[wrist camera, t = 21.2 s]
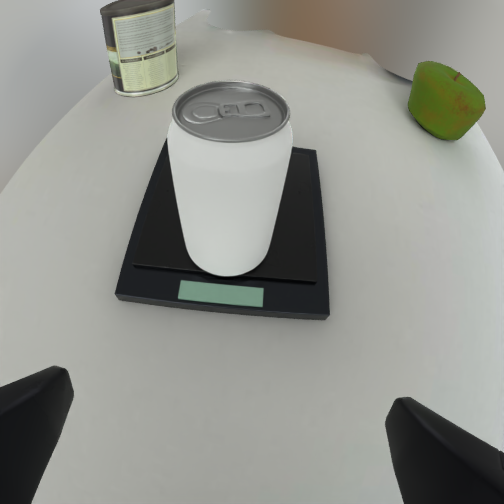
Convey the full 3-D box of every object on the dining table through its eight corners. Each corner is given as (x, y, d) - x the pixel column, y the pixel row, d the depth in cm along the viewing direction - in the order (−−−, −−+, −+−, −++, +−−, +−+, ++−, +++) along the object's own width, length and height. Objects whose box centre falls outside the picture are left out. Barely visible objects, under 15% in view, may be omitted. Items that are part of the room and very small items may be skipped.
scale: (325, 320, 22) (331, 313, 21) (119, 300, 22) (112, 292, 20) (313, 157, 32) (317, 147, 30) (167, 145, 31) (166, 134, 30)
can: (183, 212, 25) (165, 81, 14) (260, 204, 26) (280, 75, 15) (189, 284, 21) (160, 155, 11) (277, 273, 22) (318, 144, 12)
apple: (405, 96, 44) (425, 45, 34) (462, 130, 41) (488, 83, 31) (393, 121, 38) (419, 59, 28) (461, 164, 35) (496, 107, 26)
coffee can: (101, 93, 37) (84, 13, 25) (142, 65, 42) (134, -6, 30) (151, 101, 36) (140, 8, 24) (191, 71, 41) (190, -9, 29)
